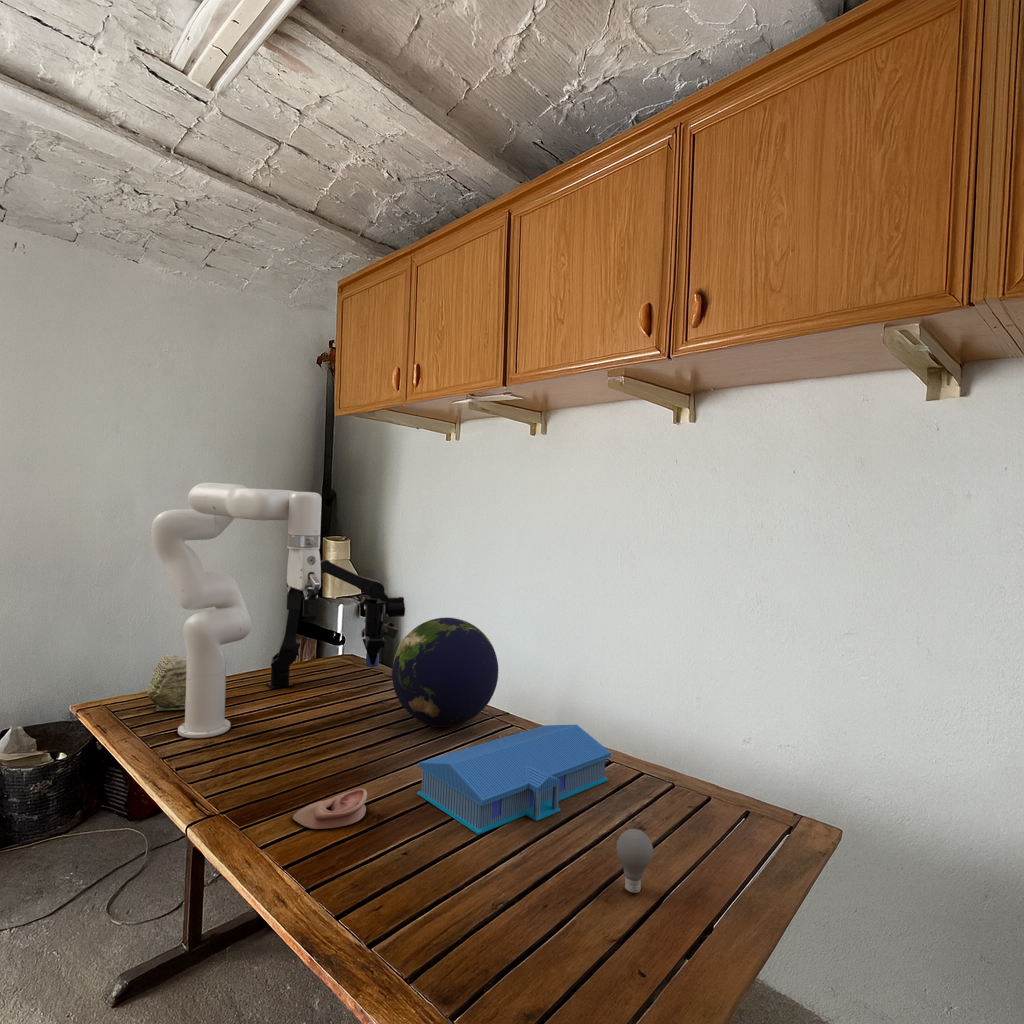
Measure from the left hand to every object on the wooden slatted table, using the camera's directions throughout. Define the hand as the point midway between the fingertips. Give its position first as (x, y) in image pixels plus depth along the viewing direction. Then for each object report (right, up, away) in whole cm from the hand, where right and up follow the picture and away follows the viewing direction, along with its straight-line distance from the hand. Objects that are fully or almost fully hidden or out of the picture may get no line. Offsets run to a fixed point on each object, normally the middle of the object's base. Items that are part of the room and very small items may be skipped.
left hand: (301, 612), depth 154 cm
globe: (+32, -36, +26) cm, 54 cm away
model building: (+53, -37, -13) cm, 66 cm away
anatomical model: (+15, -36, -28) cm, 48 cm away
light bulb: (+71, -39, -48) cm, 95 cm away
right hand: (+3, -27, +64) cm, 70 cm away
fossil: (-45, -32, +31) cm, 63 cm away
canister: (+3, -28, +64) cm, 70 cm away
